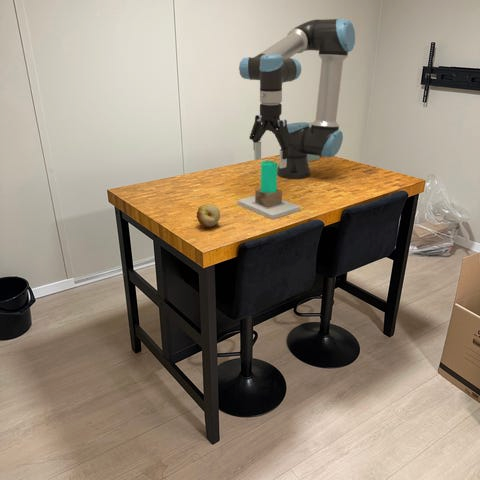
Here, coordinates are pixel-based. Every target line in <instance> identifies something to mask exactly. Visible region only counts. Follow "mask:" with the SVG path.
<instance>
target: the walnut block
mask: <svg viewBox="0 0 480 480" xmlns="http://www.w3.org/2000/svg"><path fill="white" fill-rule="evenodd" d="M254 196H255V203H257V204H260V205H262V206H264V207H267V208H269V207H272V206H275V205H279V204H282V200H283V190H280V189H278V188H277V191H276V192H274V193H264V192H262V191H261V188H258V189H255V194H254Z"/></svg>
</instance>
